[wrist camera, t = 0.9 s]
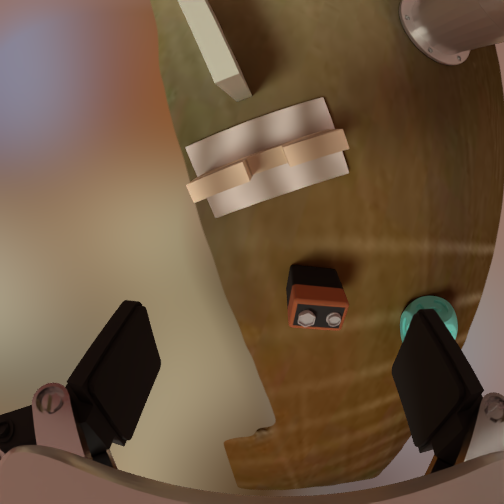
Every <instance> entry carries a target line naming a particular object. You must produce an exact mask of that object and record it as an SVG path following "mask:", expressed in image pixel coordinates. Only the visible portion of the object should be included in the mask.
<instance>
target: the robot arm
mask: <svg viewBox="0 0 504 504" xmlns="http://www.w3.org/2000/svg"><path fill="white" fill-rule="evenodd" d="M399 16H400V20H401V23H402V26H403V28H404V30H405V32H406V33H407V35H408V37H409V38H410V39H411V41H412V42H413V43H414V44H415V46H416V47H417V48H418V49H419V50H420V51H422V52H423V53H424V54H425V55H426V56H428V57H429V58H431V59H433V60H434V61H436V62H439V63H441V64H445V65H457V64H460V63H463V62H464V61H465V60H466V59H467V57H468V56H469V53H470V50H472V49H476V48H480V47H484V46H488V45H492V44H497V43H502V42H504V0H402V1H401V3H400V5H399ZM160 366H161V360H160V357H159V353H158V350H157V346H156V343H155V340H154V336H153V332H152V329H151V325H150V321H149V317H148V314H147V310H146V308H145V307H144V306H142V304H141V303H140V302H136V301H127V300H125V301H124V302H122V304H121V305H120V306H119V308H118V309H117V310H116V312H115V313H114V314H113V316H112V317H111V318H110V320H109V321H108V323H107V324H106V325H105V327H104V328H103V330H102V331H101V332H100V334H99V335H98V336H97V338H96V339H95V341H94V342H93V343H92V345H91V346H90V348H89V349H88V351H87V352H86V354H85V355H84V357H83V358H82V359H81V361H80V363H79V364H78V365H77V367H76V368H75V370H74V371H73V373H72V374H71V376H70V377H69V379H68V381H67V383H68V384H67V385H66V387H64V386H63V385H61V384H59V383H48V384H46V385H43V386H42V387H40V388H39V389H38V390H37V391H36V393H35V394H34V397H33V400H32V405H30V406H27V407H24V408H21V409H18V410H15V411H12V412H9V413H5V414H2V415H0V504H504V396H502V395H501V394H499V393H489V394H487V395H485V396H484V397H482V395H481V394H482V392H483V391H484V389H483V387H482V386H481V384H480V382H479V380H478V378H477V377H476V375H475V373H474V371H473V369H472V368H471V366H470V364H469V362H468V361H467V359H466V357H465V356H464V354H463V352H462V351H461V349H460V347H459V346H458V344H457V342H456V341H455V339H454V338H453V336H452V335H451V333H450V332H449V330H448V328H447V327H446V325H445V324H444V322H443V321H442V319H441V318H440V316H439V315H438V314H437V312H436V311H435V310H434V309H420V310H418V311H417V313H416V314H414V315H413V317H412V320H411V322H410V325H409V328H408V330H407V333H406V335H405V338H404V340H403V343H402V345H401V348H400V350H399V352H398V355H397V357H396V359H395V361H394V364H393V366H392V376H393V378H394V381H395V384H396V387H397V390H398V393H399V396H400V399H401V402H402V405H403V408H404V411H405V415H406V418H407V421H408V425H409V428H410V431H411V435H412V438H413V442H414V444H415V446H416V447H418V448H419V452H420V453H422V452H426V451H429V450H432V449H433V450H434V457H433V459H432V461H431V463H430V465H429V467H428V469H427V471H426V473H425V475H424V476H421V477H417V478H414V479H410V480H407V481H403V482H399V483H395V484H391V485H386V486H381V487H376V488H372V489H366V490H359V491H352V492H345V493H337V494H327V495H314V496H291V497H290V496H288V497H286V496H283V497H281V496H276V497H275V496H274V497H273V496H250V495H237V494H227V493H219V492H211V491H204V490H198V489H192V488H187V487H181V486H177V485H172V484H168V483H164V482H159V481H156V480H152V479H148V478H145V477H141V476H137V475H134V474H131V473H127V472H124V471H121V470H118V469H117V466H116V464H115V461H114V459H113V457H112V454H111V452H110V446H111V444H112V443H115V444H118V445H122V446H125V443H126V441H127V440H130V439H131V438H132V436H133V433H134V431H135V428H136V426H137V423H138V421H139V418H140V416H141V413H142V410H143V408H144V406H145V403H146V401H147V398H148V396H149V394H150V391H151V389H152V386H153V384H154V382H155V379H156V377H157V375H158V372H159V370H160Z"/></svg>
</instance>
